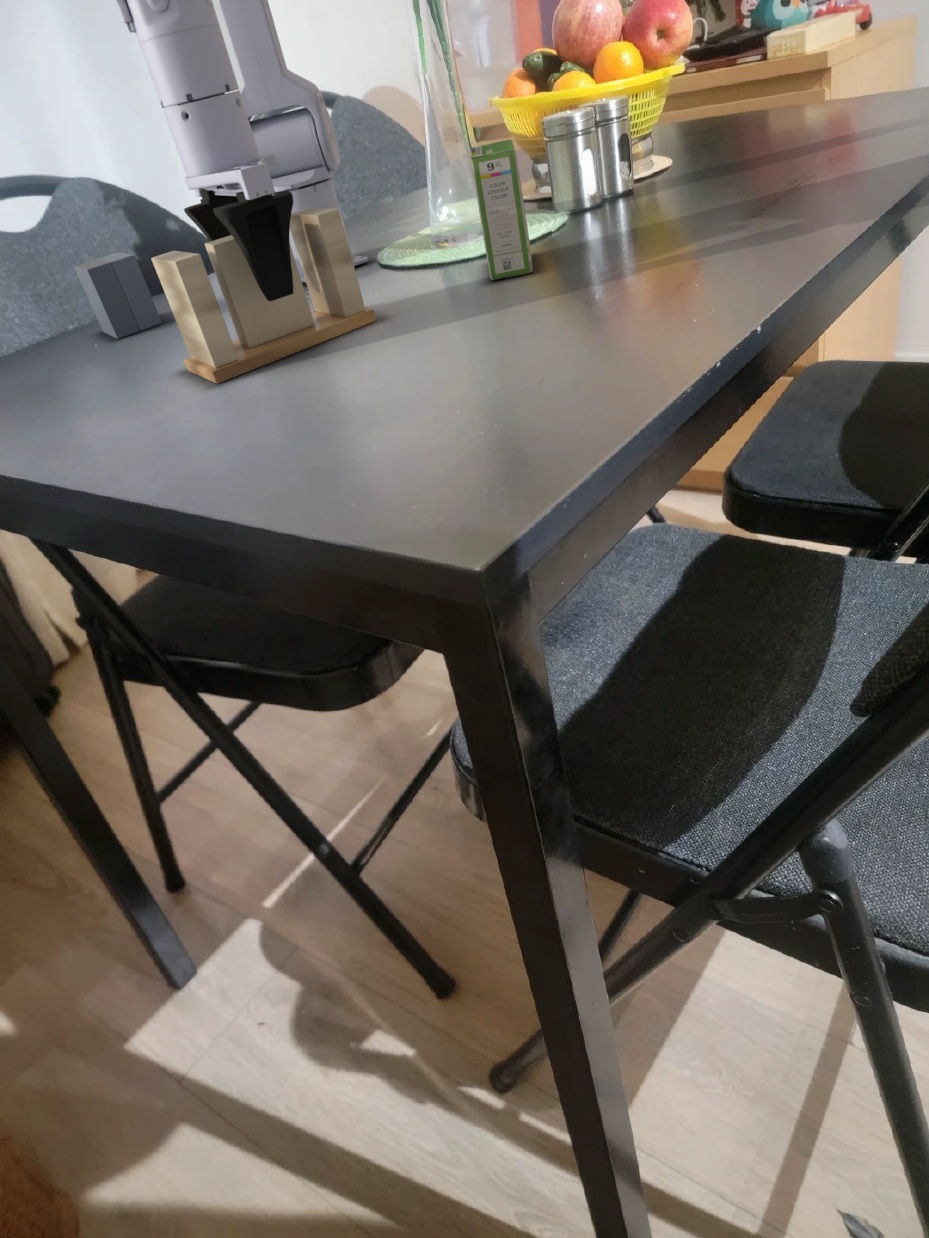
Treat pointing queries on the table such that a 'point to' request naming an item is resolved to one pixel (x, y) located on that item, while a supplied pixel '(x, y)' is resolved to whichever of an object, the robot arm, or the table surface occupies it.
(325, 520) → the table surface
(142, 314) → the grey books
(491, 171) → the ink box
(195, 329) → the book rack
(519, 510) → the table surface
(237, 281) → the cream book
